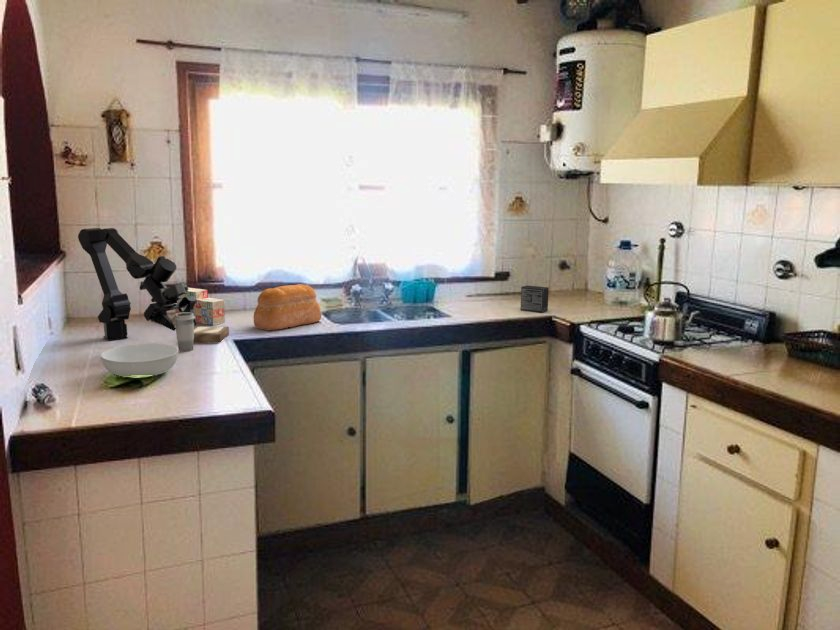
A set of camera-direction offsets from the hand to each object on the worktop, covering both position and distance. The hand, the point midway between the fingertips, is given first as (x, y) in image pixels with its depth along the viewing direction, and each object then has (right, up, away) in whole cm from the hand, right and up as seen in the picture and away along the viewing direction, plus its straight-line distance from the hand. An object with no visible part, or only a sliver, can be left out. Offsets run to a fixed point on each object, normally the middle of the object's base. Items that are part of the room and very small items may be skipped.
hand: (185, 327), depth 228 cm
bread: (+26, 0, +42) cm, 49 cm away
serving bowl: (-4, -13, -26) cm, 30 cm away
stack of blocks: (-10, +1, +46) cm, 47 cm away
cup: (0, -8, +2) cm, 8 cm away
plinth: (+2, -4, +17) cm, 18 cm away
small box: (+126, +6, +74) cm, 146 cm away
